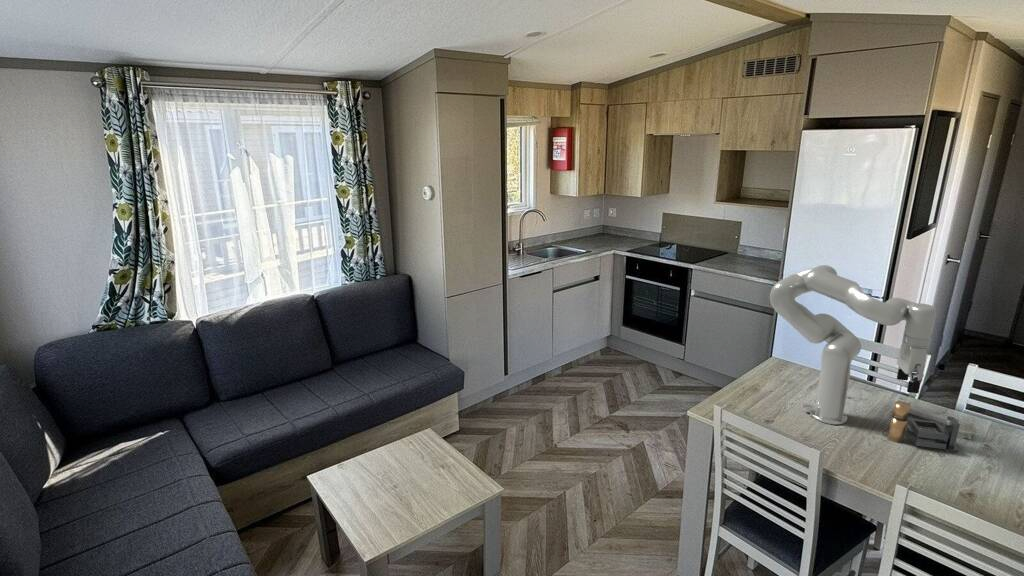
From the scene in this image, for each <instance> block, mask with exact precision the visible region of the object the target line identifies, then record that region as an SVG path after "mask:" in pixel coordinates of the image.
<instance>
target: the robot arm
mask: <svg viewBox="0 0 1024 576" xmlns="http://www.w3.org/2000/svg"><path fill="white" fill-rule="evenodd" d="M811 292H815V293H818V294H819V295H821V296H825V297H827V298H830V299H831V300H832V299H833V300H835V301H837V302H840V303H841V304H844V305H846V307H848V308H849V310H850V309H851V310H852V311H853V312H854V313H855V314H857V315H859V316H861V317H862V318H866V319H868V320H870V321H872V322H875V323H876V324H880V325H883V326H890V327H892V326H894V325H898V324H900V322H902V321H905V325H904V329H903V336H902V341H901V342H902V343H901V345H900V347H899V352H898V357H897V360H896V363H897V366H898V369H897V374H896V379H897V380H899V381H908V384H907V389H906V392H907V393H910V394H919V392H920V388H921V384H922V381H923V378H924V371H925V367H926V362H927V352H928V349H929V348H930V345H931V341H932V336H933V332H934V328H935V327H934V326H935V322H936V318H937V309H936V307H935V306H934V305H930V304H927V303H919V302H918V303H917V302H914V301H911V300H909V299H904V298H902V297H892V298H889V299H888V300H886V301H885V302H884V301H882V300H879V299H876V298H874V297H871V296H870V295H868V294H867V293H865V292H864V291H863V289H862V288H861V286H860V284H858V282H856V281H853V280H851V279H848V278H846V277H843V276H840V275H838V273H837V271H836V269H835V268H834V267H832V266H831V265H827V264H822V265H817V266H816V267H813V268H810V269H806V270H803V271H800V272H796V273H794V274H791V275H789V276H787V277H785V278H783V279H780V280H779V281H777V282H776V283H775V284H774V285H773V286H772V288H771V290H770V293H769V302H770V304H771V307H772V309H774V311H775V312H776V313H777V314H778V315H779V316H780V317H782V318H783V319H784V320H785V321H786V322H788V324H789V325H791V327H792V328H793V329H794V330H796V332H798V333H799V334H800V335H801V336H802V337H804V339H806V340H807V341H808V342H809V343H811V344H821V343H823V342H825V343H826V344H825V345H824V347H823V349H822V352H821V355H820V356H821V357H820V358H821V359H820V360H821V361H820V362H821V365H820V366H821V367H820V374H819V380H818V381H819V382H818V385H817V386H818V387H817V394H816V400H813V402H811V403H808V402H801V408H803V409H804V408H805V410H806V411H808V412H809V415H810V416H811V417H812V418H813V419H815V420H816V421H819V422H822V423H824V424H827V425H828V424H830V425H843V424H845V423H847V422H848V415H847V414H846V413H845V412H844V411H845V408H846V407H845V406H846V400H847V395H848V390H849V384H850V378H851V377H850V376H851V365H852V361H853V360H854V359H855V358H856V357H857V356H858V355H859V354H860V353H861V350H862V343H861V341H860V339H859V338H858V337H857V336H856V335H855V334H854V333H853V332H852V331H850V329H848V328H847V327H846V326H845V325H844V324H842V323H841V322H840V321H839V320H838V319H836V318H835V317H834V316H832V315H830V314H827V313H816V314H814V313H813V312H812V311H811V310H809V309H808V307H806V306H805V305H804V304H802V303H800V302H798V301H796V298H797V297H799V296H801V295H804V294H806V293H811Z"/></svg>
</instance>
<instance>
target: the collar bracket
mask: <svg viewBox="0 0 1024 576" xmlns="http://www.w3.org/2000/svg"><path fill="white" fill-rule="evenodd" d="M945 423H946V424H945V426H942V425H941V423H939V422H936V421H932V420H927V419H925V420H923V419H916V418H908V420H907V424H908V426H906V429H905V432H906V434H907V436H908V437H909V438H910V440H911V441H912V442H913V444H914V445H915V446H917V447H918V446H919V447H924V448H925V447H926V448H933V449H941V450H945V451H946V452H949V453H956V454H958V453H959V451H960V450H959V448H958V447H957V446H956V442H957V437H958V436H957V434H958V430H959V426H960V424H959V423H958V422H957V421H956V420H955V417H954V416H950V417H948V418H947V420H946V422H945ZM921 427H923V428H921ZM926 428H927V429H926ZM928 428H932V429H928ZM922 438H923V439H922ZM924 438H926V439H924ZM929 439H933V440H929Z"/></svg>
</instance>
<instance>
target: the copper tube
mask: <svg viewBox="0 0 1024 576" xmlns="http://www.w3.org/2000/svg"><path fill="white" fill-rule="evenodd" d="M905 402H906V401H903V402H902V401H901V400H898V401H894V404H893V410H892V415H891V420H890V423H889V424H890V425H889V429H888V435H887V439H888V440H889V441H891V442H893V443H903V441H904V437H905V432H906V429H907V424H908V419H909V415H910V414H909V409H910V405H909V404H908V403H909V402H907V403H905Z"/></svg>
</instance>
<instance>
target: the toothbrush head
mask: <svg viewBox="0 0 1024 576" xmlns="http://www.w3.org/2000/svg"><path fill="white" fill-rule="evenodd" d="M902 402H905V403H908V404H909V405H910V409H909V414H908V415H911V416H915V417H918V418H921V419H925V420H928V421H935V422H939V424H943V425H946V423H945V422H946V420H947V418H948V417H951V416H949V415H946V414H944V413H940V412H937V411H934V410H931V409H929V408H928V409H927V408H925V407H921V406H918V405H916V404H913V403H911V402H910V401H909V402H906V401H902ZM954 418H955V417H954ZM955 420H956V421H957V422H958V423H959V424H960V426H959V430H958V434H957V437H959V438H960V437H961V439H963V438H964V439H968V440H974V439H975V438H976V435H977V433H978V432H977V430H976V429H975V428H974V423H973V422H972V421H970V420H968V419H962V418H961V419H958V418H955Z"/></svg>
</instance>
